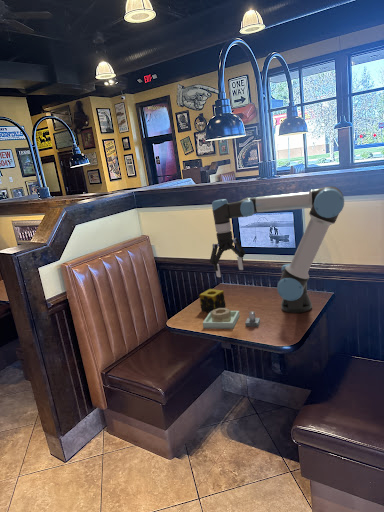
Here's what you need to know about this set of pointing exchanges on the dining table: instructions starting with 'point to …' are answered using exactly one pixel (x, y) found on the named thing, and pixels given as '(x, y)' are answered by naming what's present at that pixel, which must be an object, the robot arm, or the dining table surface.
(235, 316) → the tray
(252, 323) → the grey peg stand
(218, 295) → the yellow cube with holes
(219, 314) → the ring
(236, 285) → the dining table surface
